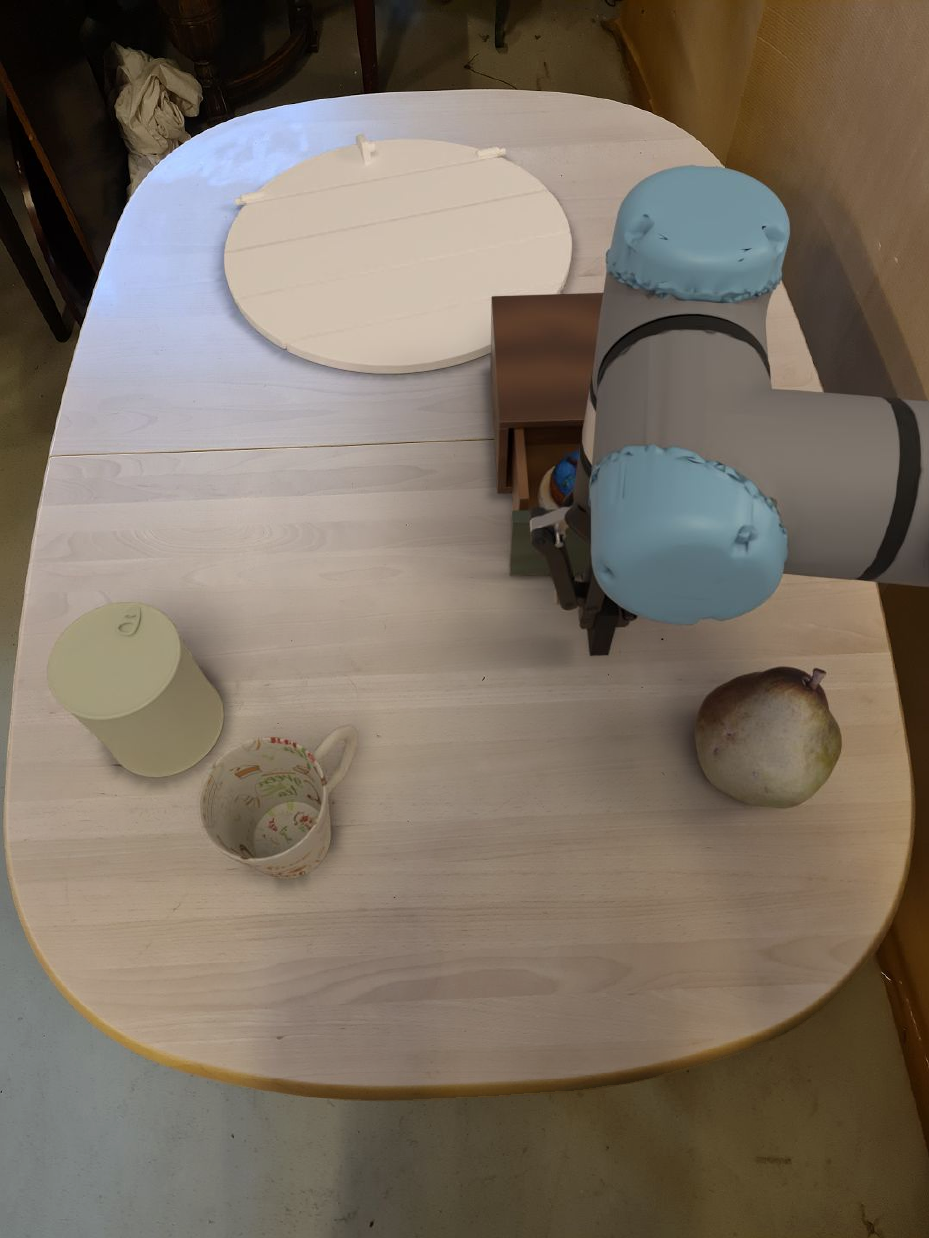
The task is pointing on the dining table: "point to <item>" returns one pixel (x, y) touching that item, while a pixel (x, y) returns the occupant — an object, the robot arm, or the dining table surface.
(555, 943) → the dining table surface
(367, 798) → the dining table surface
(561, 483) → the dessert
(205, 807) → the mug
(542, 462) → the drawer
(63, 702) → the can
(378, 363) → the lazy susan
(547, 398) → the cabinet
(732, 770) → the fruit
